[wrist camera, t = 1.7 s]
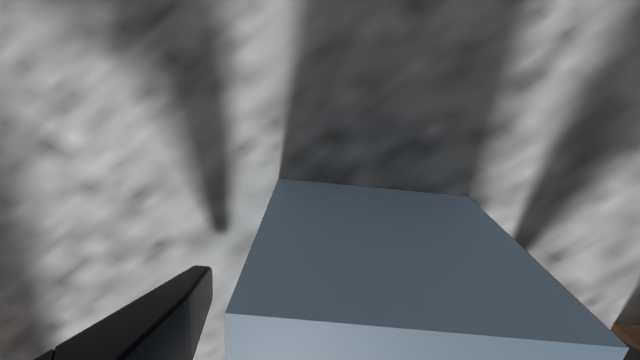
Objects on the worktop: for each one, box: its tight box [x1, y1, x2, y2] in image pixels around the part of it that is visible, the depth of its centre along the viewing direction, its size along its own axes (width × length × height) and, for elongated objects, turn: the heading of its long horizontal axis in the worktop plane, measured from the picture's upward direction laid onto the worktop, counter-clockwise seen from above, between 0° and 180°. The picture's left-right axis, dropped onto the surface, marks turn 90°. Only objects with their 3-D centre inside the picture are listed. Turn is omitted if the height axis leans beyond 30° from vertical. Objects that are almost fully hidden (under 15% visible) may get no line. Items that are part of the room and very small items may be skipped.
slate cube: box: [225, 179, 629, 360], centre depth 7 cm, size 5×5×5 cm
